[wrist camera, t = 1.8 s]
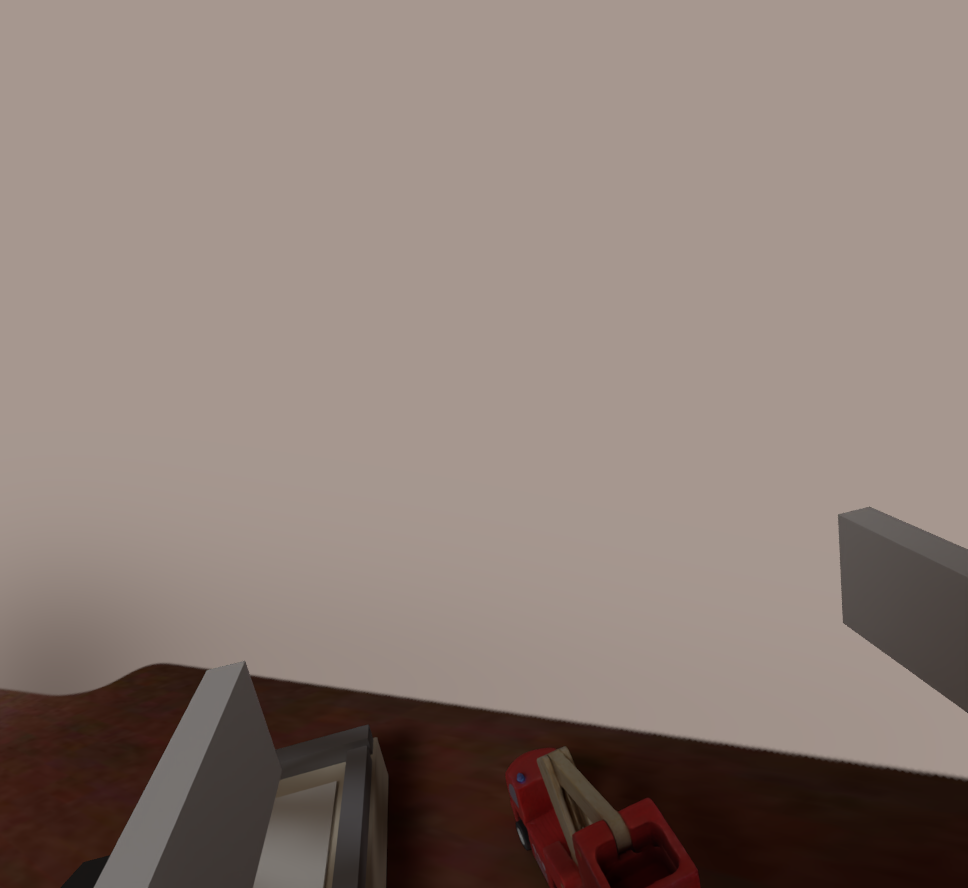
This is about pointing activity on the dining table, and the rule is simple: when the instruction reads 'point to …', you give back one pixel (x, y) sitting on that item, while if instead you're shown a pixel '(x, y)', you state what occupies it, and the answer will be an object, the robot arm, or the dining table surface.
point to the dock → (328, 815)
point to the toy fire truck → (591, 830)
